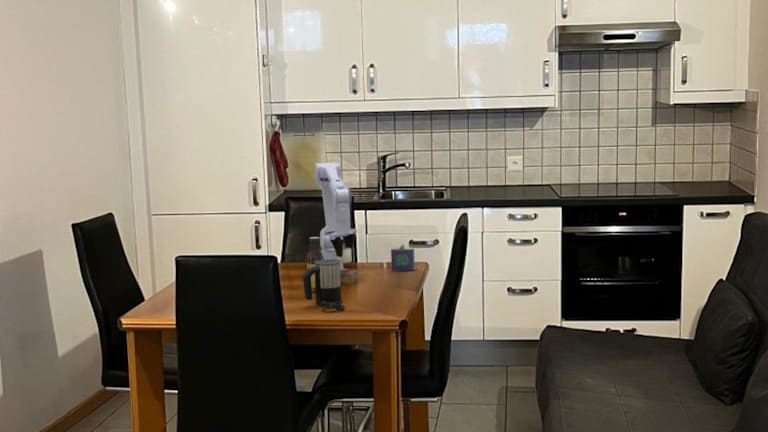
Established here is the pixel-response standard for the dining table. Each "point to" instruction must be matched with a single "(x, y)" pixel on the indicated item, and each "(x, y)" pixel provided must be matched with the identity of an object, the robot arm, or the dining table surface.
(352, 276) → the block
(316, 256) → the sauce bottle
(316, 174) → the robot arm
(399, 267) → the flask
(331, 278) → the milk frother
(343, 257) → the cup
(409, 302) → the dining table surface
